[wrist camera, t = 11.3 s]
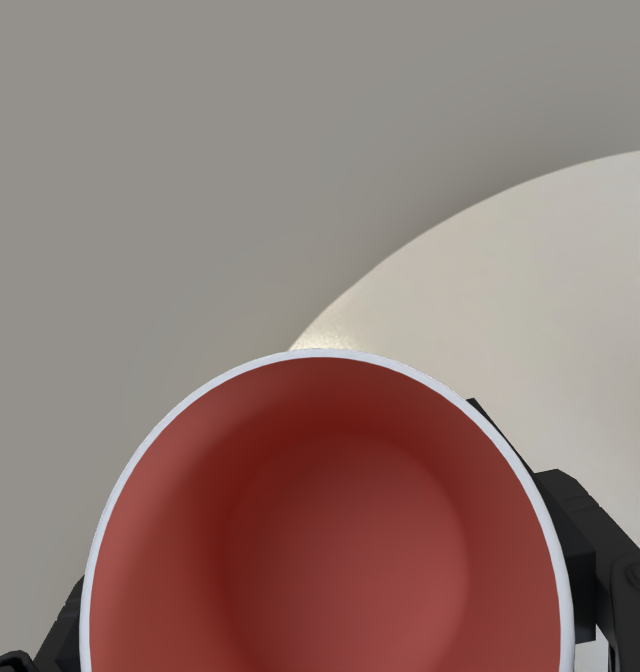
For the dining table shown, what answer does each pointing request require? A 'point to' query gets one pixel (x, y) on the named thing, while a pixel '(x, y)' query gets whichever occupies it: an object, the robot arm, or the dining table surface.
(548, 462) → the dining table surface
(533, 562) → the cup
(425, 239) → the dining table surface
